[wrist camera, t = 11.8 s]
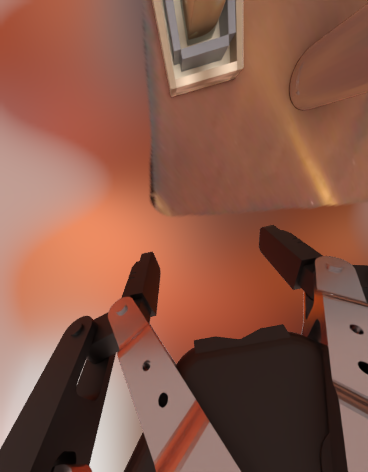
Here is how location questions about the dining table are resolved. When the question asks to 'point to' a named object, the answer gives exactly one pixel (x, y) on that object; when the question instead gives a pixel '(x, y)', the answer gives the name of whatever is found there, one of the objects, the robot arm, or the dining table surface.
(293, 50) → the dining table surface
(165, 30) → the walled box
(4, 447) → the robot arm
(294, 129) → the dining table surface
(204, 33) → the skincare box
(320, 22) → the dining table surface
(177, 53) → the inlet collar
